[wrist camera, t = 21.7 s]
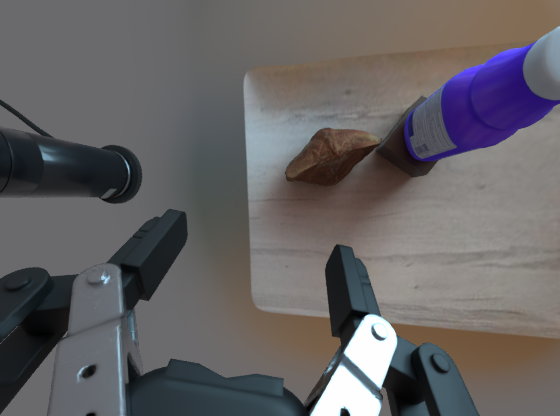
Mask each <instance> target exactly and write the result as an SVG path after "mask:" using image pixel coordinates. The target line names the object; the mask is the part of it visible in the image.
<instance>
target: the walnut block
mask: <svg viewBox="0 0 560 416" xmlns="http://www.w3.org/2000/svg"><path fill="white" fill-rule="evenodd" d="M425 100H427V98H426V97H424V96H421V97H420V98H419V99H418V100H417V101H416V102H415V103H414V104H413V105H412V106H411V107H409V109H408V110H407V111H406V112H405V114H404V115H403V116H402V118H401V119H400V120H399V121H398V123H397V124H396V125H395V126H394V128H393V129H392V130H391V132H390V133H389V134H388V135H387V137H386V138H385V139H384V140H383V142H382V143H381V144H380V146H379V147H378V148H377V149H376V151H375V152H377V153H378V154H380V155H381V156H383V157H384V158H385V159H387V160H388V161H390V162H391V163H393V164H394V165H396V166H397V167H398V168H400V169H401V170H403V171H404V172H406V173H407V174H409V175H410V176H411V177H418V176H423V175H426V174H427V173H428V172H429V171H430V170H431V169H432V167H433V166H434V165H435V164H436V163H437V161H438V160H436V161H420V160H417V159H415V158H413V156H412V155H411V154H410V152H409V151H408V148H407V146H406V142H405V137H404V126H405V121H406V119H407V117H408V115H409V114H410V113H411V112H412V111H413V110H414V109H416V108H417V107H418V106H419V105H420V104H422V103H423V102H424V101H425Z"/></svg>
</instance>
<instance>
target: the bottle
mask: <svg viewBox="0 0 560 416" xmlns="http://www.w3.org/2000/svg"><path fill="white" fill-rule="evenodd" d="M558 104H560V26H559V27H557V28H556V29H554V30H553V31H551V32H550V33H548V34H546V35H544V36H543V37H542V38H540V39H539V40H538V41H536V42H534V43H533V44H530V45H528V46H526V47H523V48H517V49H509V50H507V51H504V52H501V53H500V54H498V55H496V56H495V57H493V58H491V59H490V60H489V61H487V62H486V63H485V64H483V65H478V66H475V67H471V68H468V69H466V70H464V71H463V72H461V73H460V74H458V75H456V76H454V77H453V78H452V79H451V80H449V81H448V82H447V83H446V84H445V85H443V86H442V87H441V88H440V89H439V90H437V91H436V92H435V93H434V94H432V95H431V96H430V97H429V98H428V99H427V100H425V101H424V102H423V103H422V104H420V105H419V106H418V107H417V108H416V109H414V110H413V111H412V112H411V113H410V114H409V115H408V117H407V119H406V121H405V126H404V137H405V142H406V146H407V148H408V151H409V152H410V154H411V155H412V156H413V158H415V159H417V160H420V161H436V160H440V159H442V158H446V157H450V156H453V155H457V154H461V153H465V152H468V151H472V150H476V149H479V148H486V147H489V146H493V145H496V144H498V143H499V142H501V141H503V140H505V139H507V138H508V137H510V136H511V135H513V134H514V133H515V132H516V131H517V130H518V129H521V128H525V127H528V126H530V125H532V124H534V123H536V122H537V121H539V120H540V119H542V118H543V117H544V116H545V115H546V114H548V113H549V112H550V111H551V110H552V108H553V107H554V106H556V105H558Z"/></svg>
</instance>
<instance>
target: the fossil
mask: <svg viewBox="0 0 560 416" xmlns="http://www.w3.org/2000/svg"><path fill="white" fill-rule="evenodd" d="M381 143H382V139H381V138H379V137H378V136H377V135H375V134H373V133H368V132H364V131H359V130H350V129H332V128H324V129H321V130H319V131H318V132H317V133H316V134H315V135H314V136H313V137H312V138H311V140H310V142H309V143H308V144H307V145H306V146H305V148H304V149H303V150H302V151H301V153H300V154H299V155H298V156H296V157H295V158H294V159H293V160H292V161H291V162H290V164H289V166H288V167H287V169H286V172H285V174H286V179H287V181H290V182H294V181H302V182H307V183H313V184H318V185H322V186H333V185H336V184H337V183H339V182H340V181H341V180H342V179H343V178H344V177H345V176H347V175H348V173H349V172H350V171H351V170H352V168H353V167H354V166H355V165H356V164H357V163H359V162H360V161H361V160H362V159H363V158H364V157H366V156H367V155H368V154H369V153H371V152H372V151H373V150H374V149H375V148H376V147H377V146H379V145H380V144H381Z"/></svg>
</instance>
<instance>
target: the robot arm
mask: <svg viewBox="0 0 560 416" xmlns="http://www.w3.org/2000/svg"><path fill="white" fill-rule="evenodd" d="M0 105H1V106H3V107H4V108H6V109H7V110H8V111H10V112H11V113H13V114H14V115H16V116H17V117H18V118H19V119H21V120H22V121H23V122H24V123H26V124H27V125H28V126H30V127H31V128H32V129H34V130H35V131H36V132H38V133H39V134H41V135H42V136H41V135H37V134H32V133H28V132H23V131H18V130H14V129H9V128H4V127H0V198H22V197H23V198H26V197H29V198H31V197H32V198H36V197H101V198H115V197H119V196H122V195H123V194H125V193H126V192H127V190H128V189H129V187H130V185H131V183H132V177H133V173H132V168H131V165H130V163H129V161H128V159H127V158H126V157H125V156H124V155H122V154H121V153H119V152H116V151H111V150H104V149H100V148H96V147H91V146H87V145H82V144H78V143H73V142H69V141H64V140H60V139H55V138H54V137H52V136H51V135H49V134H48V133H46V132H44V131H43V130H41V129H40V128H39V127H37V126H36V125H34V124H33V123H32V122H31V121H29V120H28V119H27V118H25V117H24V116H23V115H22V114H20V113H19V112H18V111H16V110H15V109H13V108H12V107H11V106H9V105H8V104H6V103H5V102H3V101H2V100H0ZM187 236H188V233H187V218H186V213H185V212H182V211H178V210H172V209H169V210H167V211H166V212H165V213H164V215H163V216H162V217H154V218H153V219H151V220H149V221H147V222H146V223H145V224H144V225H143V226H142V227H141V228H140V229H139V231H137V232H136V233H135V234H134V235H133V237H131V238H130V239H129V240H128V241H127V242H126V243H125V244H124V245H123V246H122V247H121V248H120V249H119V250H118V251H117V252H116V253H115V254H114V255H113V256H112V257H111V259H110V260H109V261H108V262H107V263H103V264H98V265H95V266H92V267H90V268H88V269H86V270H84V271H83V272H81V273H80V274H77V275H64V276H52V277H51V276H50V275H49V273H48V272H47V271H46V270H45V269H42V268H38V267H37V268H35V267H33V268H25V269H21V270H18V271H15V272H12V273H10V274H8V275H6V276H4V277H3V278H1V279H0V343H1V342H2V341H3V340H4V339H5V338H6V337H7V336H8V335H9V334H10V333H11V332H12V331H13V330H14V329H15V328H16V327H17V326H18V327H17V328H16V329H15V330H14V331H13V332H12V333H11V334H10V335H9V336H8V337H7V338H6V339H5V340H4V341H3V342H2V343H1V344H0V414H1V413H2V412H3V410H4V409H5V408H6V407H7V405H8V404H9V403H10V402H11V400H12V399H13V398H14V396H15V395H16V394H17V393H18V392H19V390H20V389H21V388H22V387H23V385H24V384H25V383H26V382H27V380H28V379H29V378H30V377H31V375H32V374H33V373H34V372H35V370H36V369H37V368H38V367H39V365H40V364H41V363H42V362H43V360H44V359H45V358H46V357H47V355H48V354H49V353H50V352H51V351H52V349H53V348H54V347H55V346H56V344H57V343H58V345H57V349H56V356H55V363H54V370H53V377H52V385H51V392H50V399H49V406H48V413H47V416H378V414H379V412H380V409H381V406H382V402H383V396H382V394H381V393H380V390H381V387H384V388H385V389H386V391H387V396H388V400H389V405H390V410H391V414H392V416H479V414H478V412H477V409H476V407H475V405H474V403H473V401H472V399H471V396H470V394H469V392H468V390H467V388H466V386H465V384H464V381H463V379H462V377H461V375H460V373H459V371H458V369H457V366H456V365H455V363H454V361H453V360H452V359H451V357H450V356H449V355H448V354H447V353H446V352H445V351H444V350H442V349H441V348H440V347H438V346H437V345H434V344H432V343H423V344H422V345H420V346H419V347H418V346H416V345H414V344H412V343H411V342H409V341H407V340H405V339H403V338H401V337H399V336H398V335H396V334H395V332H394V330H393V328H392V327H391V325H390V324H389V323H388V322H387V321H386V320H385V319H383V318H382V317H381V314H380V311H379V308H378V305H377V302H376V298H375V295H374V292H373V289H372V286H371V282H370V279H369V278H368V277H369V276H368V273H367V270H366V267H365V266H364V264H363V263H362V261H361V260H360V259H358V258H355V257H354V253H353V249H352V248H351V247H349V246H344V245H339V244H336V246H335V247H334V249H333V251H332V253H331V255H330V257H329V259H328V261H327V264H326V268H325V277H326V286H327V295H328V304H329V313H330V321H331V331H332V336H333V337H339V338H340V340H341V346H340V347H339V348H338V350H337V352H336V353H335V355H334V357H333V358H332V360H331V362H330V363H329V365H328V367H327V368H326V370H325V372H324V373H323V375H322V376H321V378H320V380H319V381H318V383H317V384H316V386H315V387H314V389H313V390H312V392H311V393H310V394H309V396H308V398H307V399H306V401H305V402H304V404H302V403H301V401H300V400H299V399H298V398H297V397H296V396H295V395H294V394H293V393H292V392H290V391H289V390H288V389H286V388H285V387H283V380H284V379H283V378H277V377H272V376H266V375H261V374H251V375H244V376H238V377H231V378H225V377H222V376H221V375H219V374H217V373H215V372H213V371H211V370H210V369H208V368H206V367H204V366H202V365H200V364H198V363H193V362H187V361H181V360H176V359H170V361H169V364H168V366H167V367H162V368H159V369H155V370H153V371H150V372H148V373H145V374H144V371H143V364H142V359H141V355H140V350H139V343H138V334H137V324H136V315H135V308H134V307H135V305H136V304H137V302H138V301H139V299H141V300H146V301H149V300H150V298H151V296H152V295H153V293H154V292H155V290H156V289H157V287H158V286H159V284H160V283H161V281H162V279H163V278H164V276H165V275H166V273H167V272H168V270H169V268H170V267H171V265H172V264H173V262H174V260H175V259H176V257H177V256H178V254H179V253H180V251H181V250H182V248H183V246H184V245H185V243H186V240H187ZM67 331H68V333H67V336H66V337H64V338H62V337H63V336H64V334H65V333H66V332H67ZM61 338H62V339H61Z"/></svg>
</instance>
